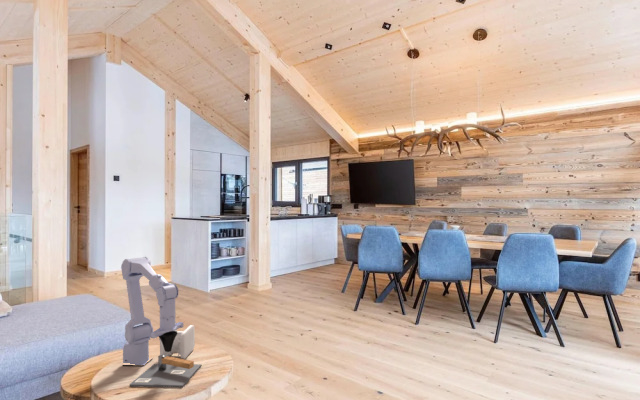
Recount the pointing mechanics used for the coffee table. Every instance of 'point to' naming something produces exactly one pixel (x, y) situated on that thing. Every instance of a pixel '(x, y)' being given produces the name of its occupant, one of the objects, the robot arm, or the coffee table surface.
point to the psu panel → (165, 376)
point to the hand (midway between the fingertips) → (167, 351)
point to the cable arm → (173, 362)
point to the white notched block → (181, 343)
